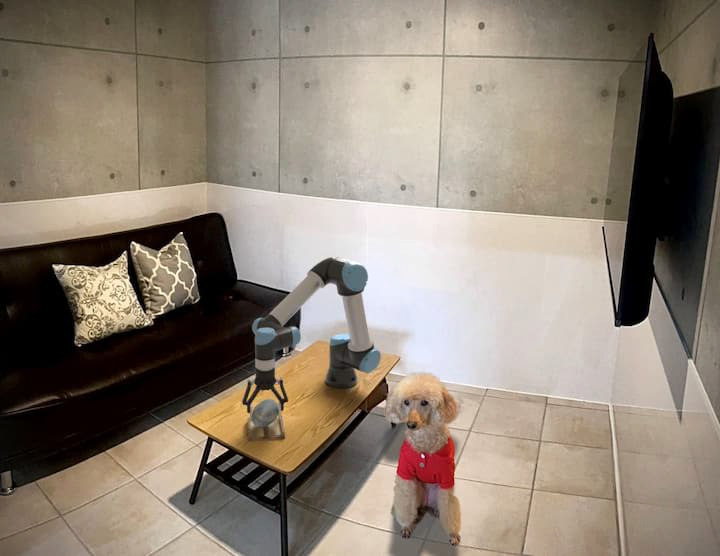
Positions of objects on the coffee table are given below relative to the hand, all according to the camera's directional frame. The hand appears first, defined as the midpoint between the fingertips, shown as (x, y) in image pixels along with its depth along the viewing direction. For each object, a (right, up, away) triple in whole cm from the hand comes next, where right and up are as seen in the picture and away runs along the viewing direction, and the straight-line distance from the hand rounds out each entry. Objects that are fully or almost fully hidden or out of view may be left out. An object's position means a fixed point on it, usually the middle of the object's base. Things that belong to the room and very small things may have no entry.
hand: (265, 418), depth 243 cm
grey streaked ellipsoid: (0, -2, 0) cm, 2 cm away
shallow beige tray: (0, -5, +1) cm, 5 cm away
